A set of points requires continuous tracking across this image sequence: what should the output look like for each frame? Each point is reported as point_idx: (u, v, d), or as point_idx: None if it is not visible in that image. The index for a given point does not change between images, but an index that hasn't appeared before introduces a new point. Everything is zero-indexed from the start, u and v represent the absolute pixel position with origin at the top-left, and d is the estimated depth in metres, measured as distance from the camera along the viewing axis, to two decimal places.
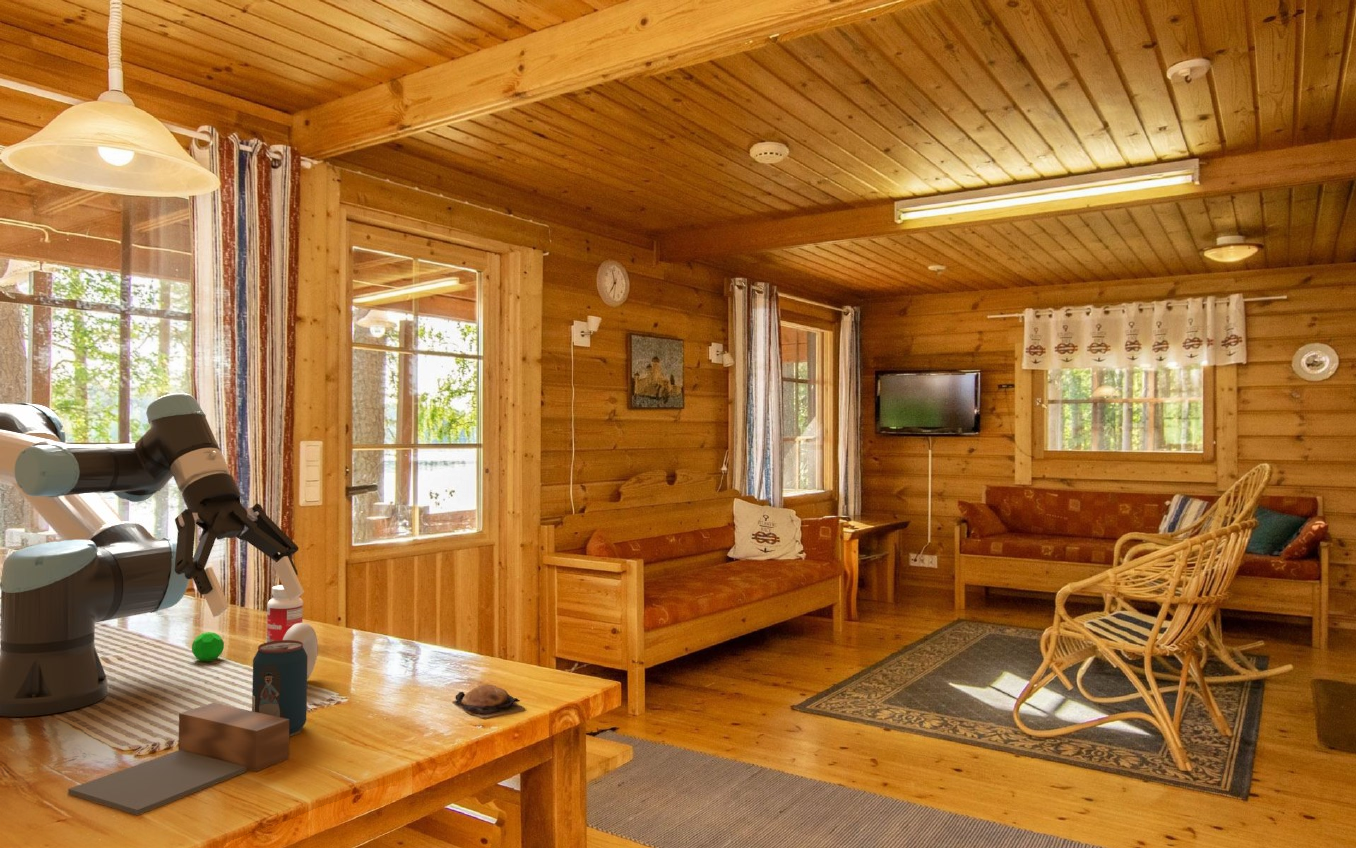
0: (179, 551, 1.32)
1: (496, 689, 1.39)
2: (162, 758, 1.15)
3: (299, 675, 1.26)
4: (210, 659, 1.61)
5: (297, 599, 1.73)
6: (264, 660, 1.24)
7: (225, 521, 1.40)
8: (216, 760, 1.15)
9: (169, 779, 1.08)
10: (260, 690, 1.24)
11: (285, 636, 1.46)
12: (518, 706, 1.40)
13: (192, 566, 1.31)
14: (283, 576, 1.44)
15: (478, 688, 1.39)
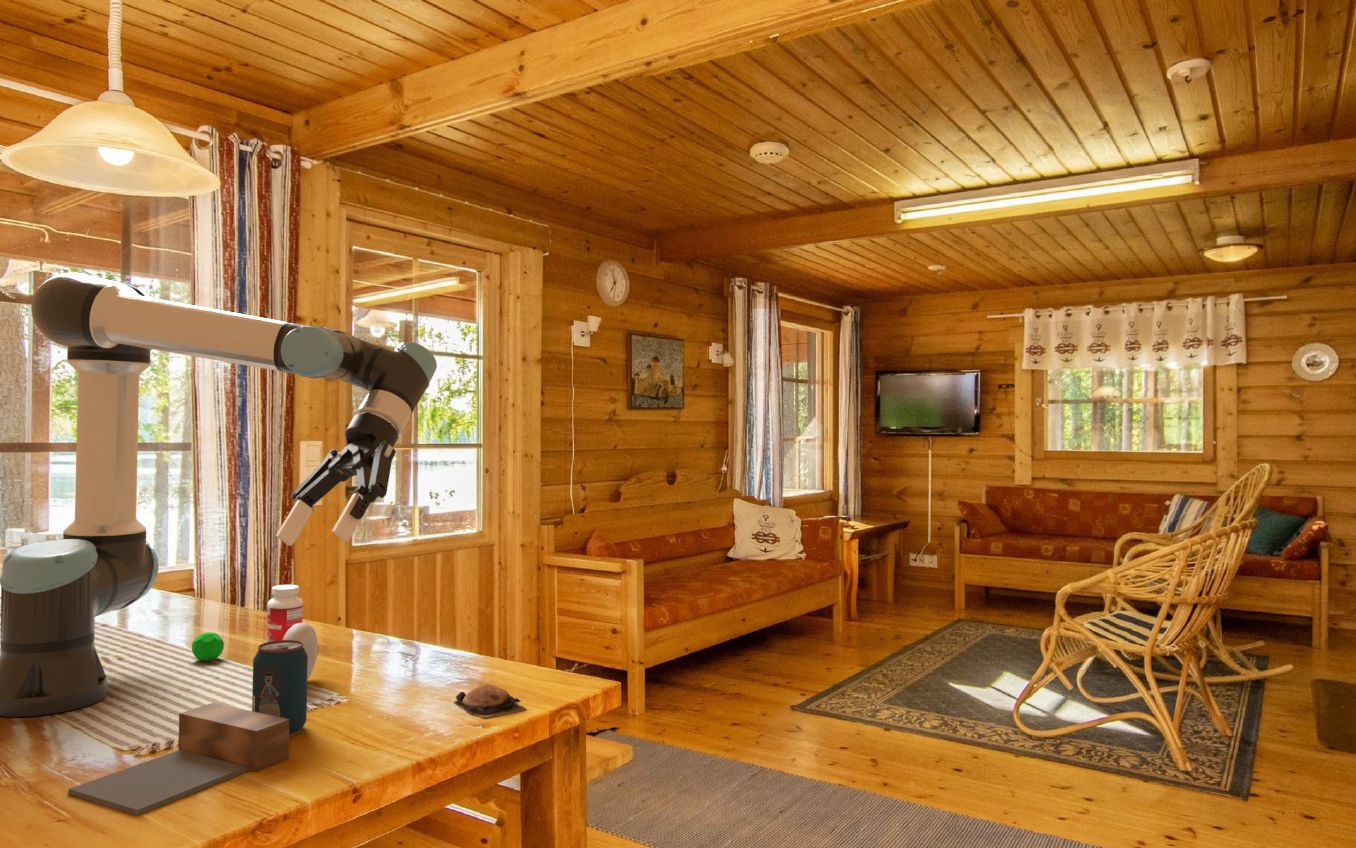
0: (380, 474, 1.35)
1: (497, 689, 1.39)
2: (162, 758, 1.15)
3: (300, 675, 1.26)
4: (210, 659, 1.61)
5: (297, 599, 1.73)
6: (264, 660, 1.24)
7: None
8: (216, 760, 1.15)
9: (169, 779, 1.08)
10: (260, 690, 1.24)
11: (285, 636, 1.46)
12: (519, 706, 1.40)
13: None
14: (296, 516, 1.40)
15: (479, 688, 1.39)
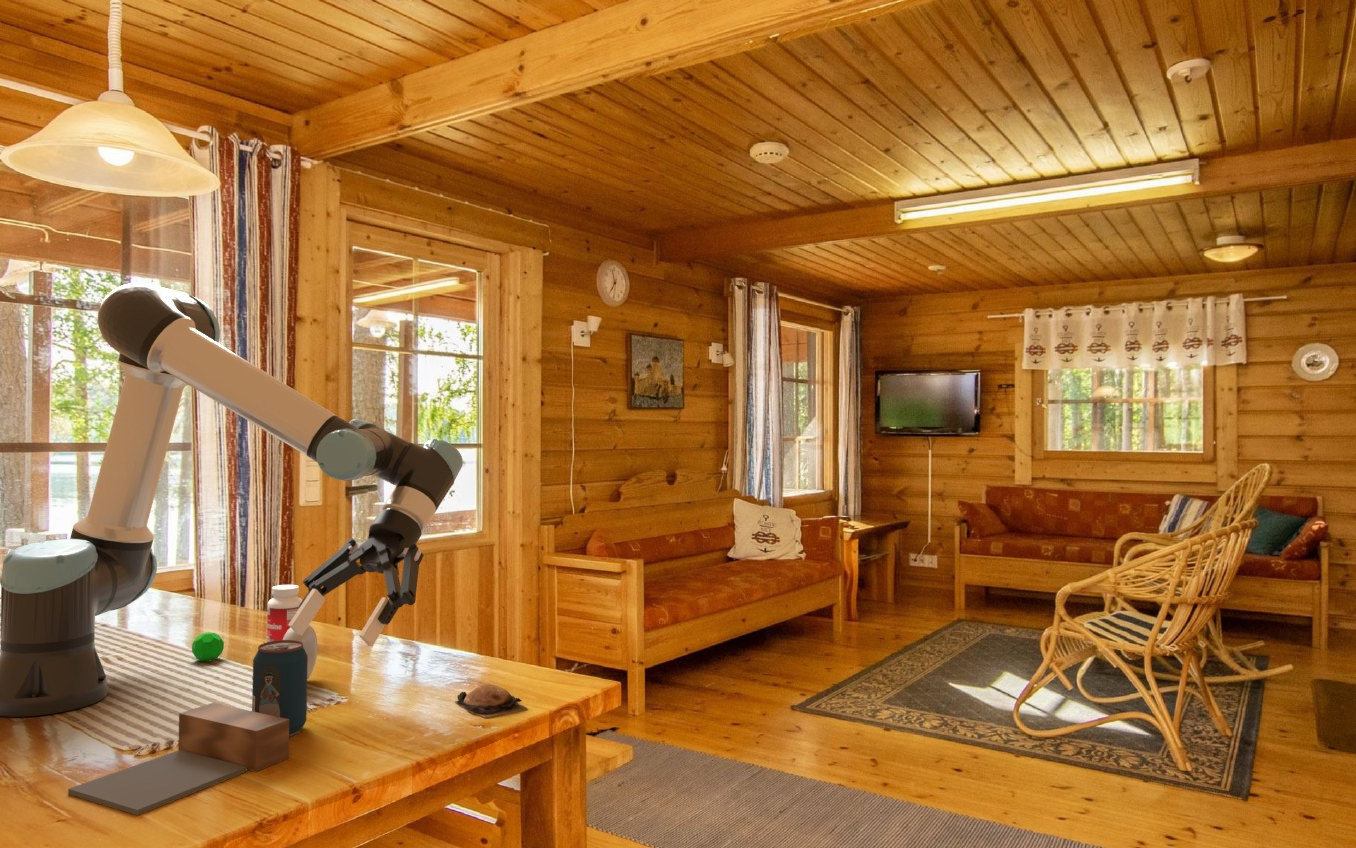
0: (411, 580, 1.36)
1: (498, 689, 1.40)
2: (162, 758, 1.15)
3: (299, 675, 1.26)
4: (210, 659, 1.61)
5: (297, 599, 1.73)
6: (264, 660, 1.24)
7: None
8: (216, 760, 1.15)
9: (169, 779, 1.08)
10: (260, 690, 1.24)
11: (285, 636, 1.46)
12: (520, 706, 1.40)
13: None
14: (310, 606, 1.39)
15: (480, 688, 1.40)
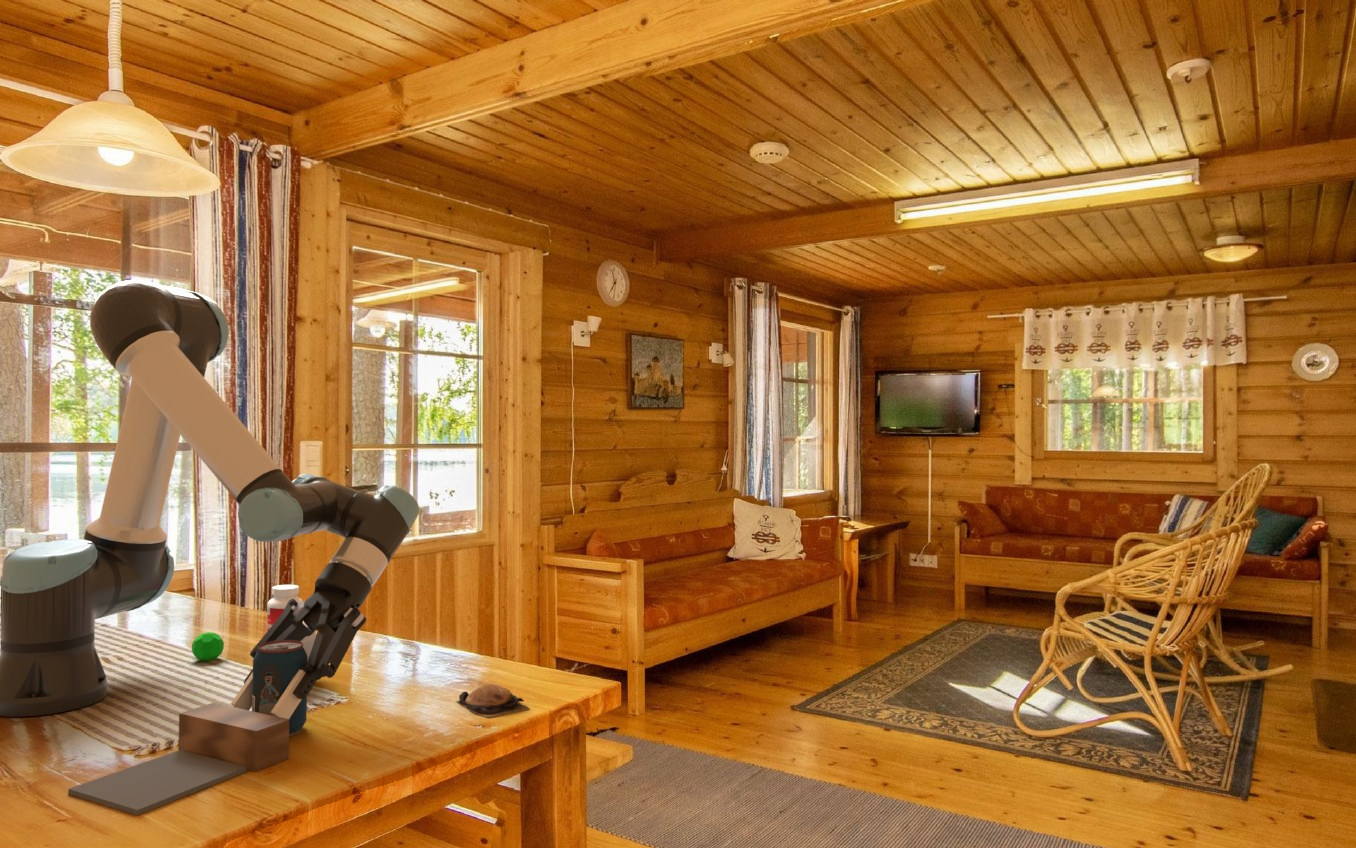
0: (337, 651, 1.27)
1: (500, 689, 1.40)
2: (162, 758, 1.15)
3: None
4: (210, 659, 1.61)
5: (297, 599, 1.73)
6: (264, 660, 1.24)
7: None
8: (216, 760, 1.15)
9: (169, 779, 1.08)
10: (260, 690, 1.24)
11: None
12: (522, 706, 1.40)
13: None
14: None
15: (482, 688, 1.40)
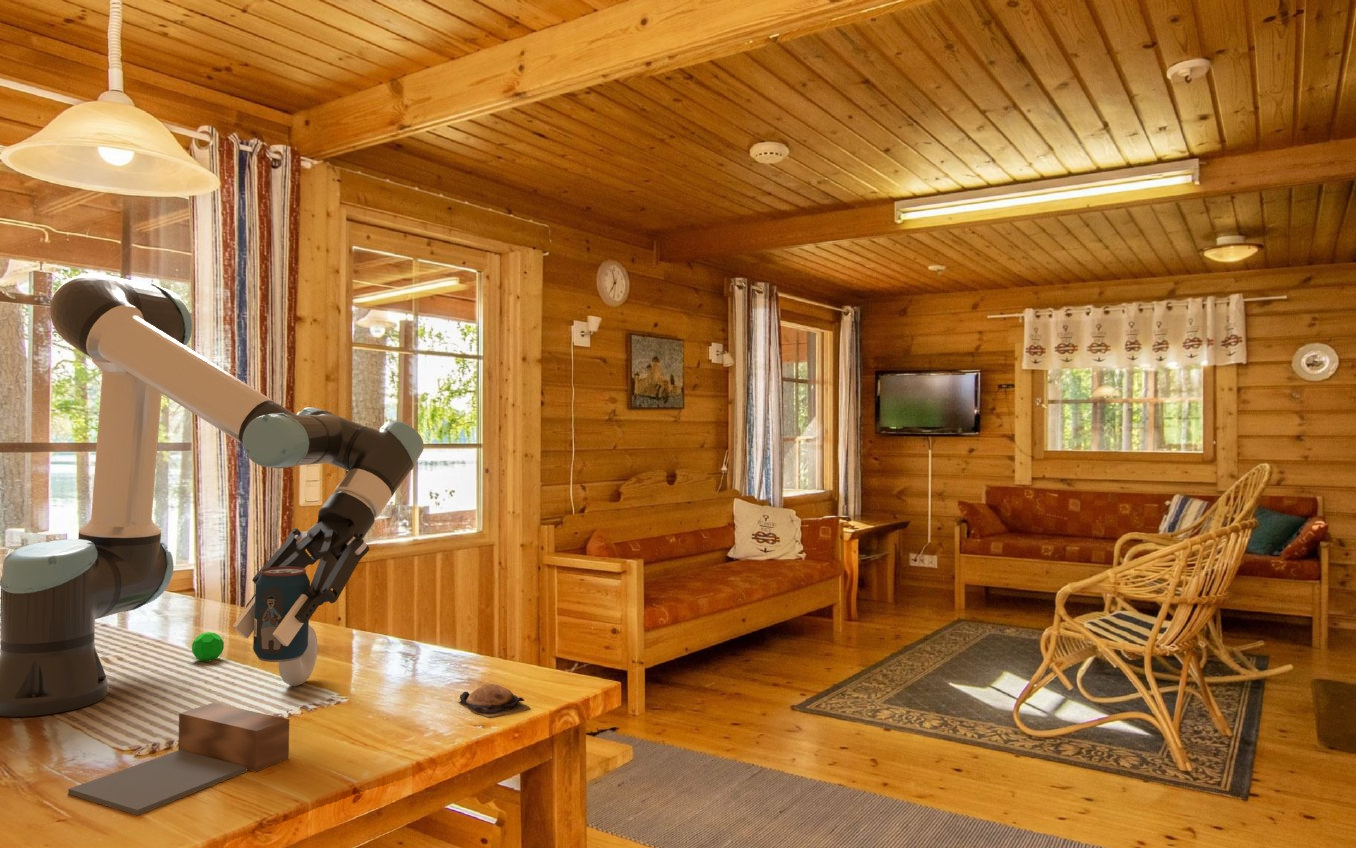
0: (340, 577, 1.27)
1: (501, 688, 1.40)
2: (162, 758, 1.15)
3: None
4: (210, 659, 1.61)
5: None
6: (266, 583, 1.24)
7: None
8: (216, 760, 1.15)
9: (169, 779, 1.08)
10: (262, 613, 1.24)
11: None
12: (523, 705, 1.40)
13: None
14: None
15: (483, 687, 1.40)
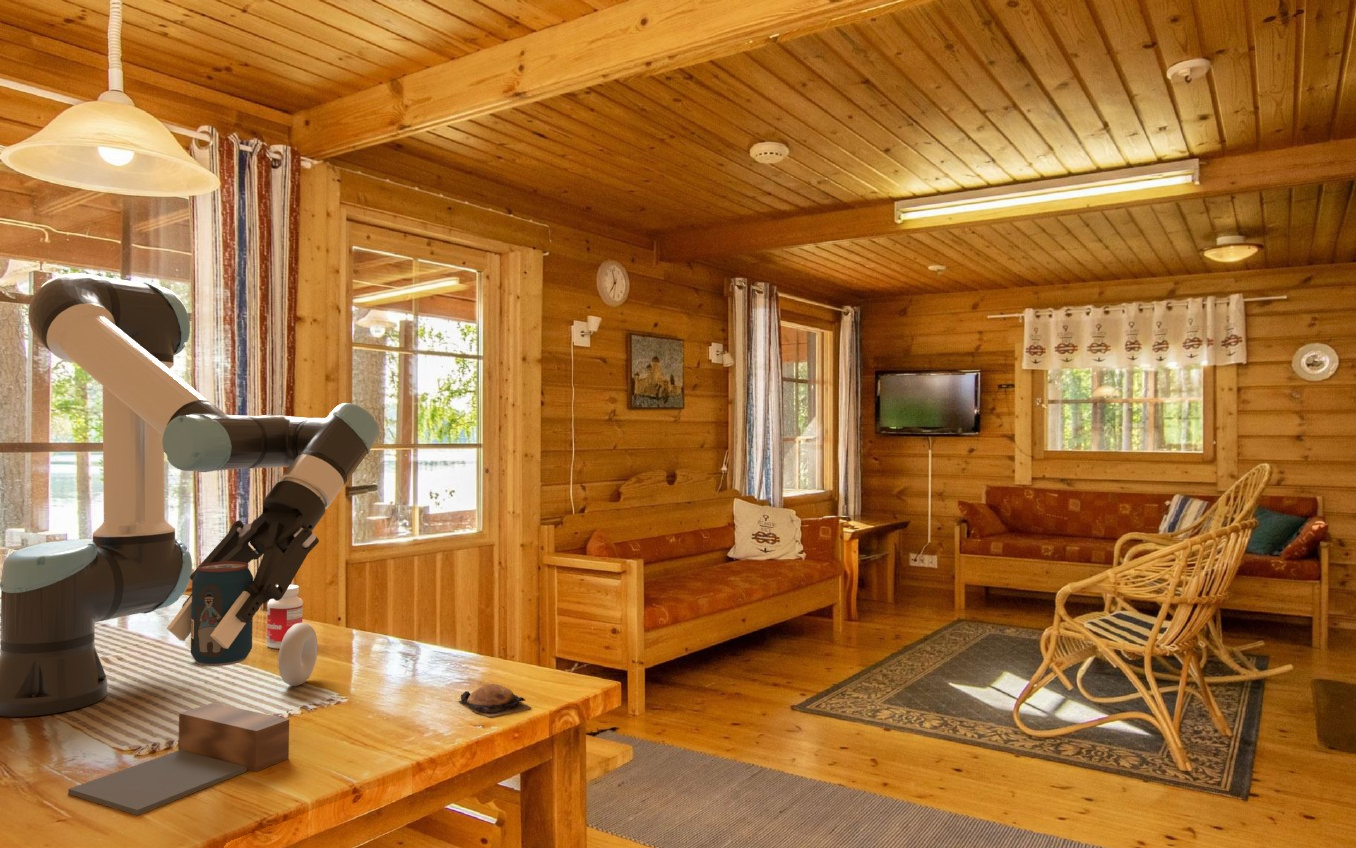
0: (285, 571, 1.16)
1: (502, 688, 1.40)
2: (162, 758, 1.15)
3: None
4: None
5: (297, 599, 1.73)
6: (203, 579, 1.13)
7: None
8: (216, 760, 1.15)
9: (169, 779, 1.08)
10: (199, 612, 1.13)
11: (285, 636, 1.46)
12: (524, 705, 1.40)
13: None
14: None
15: (484, 687, 1.40)
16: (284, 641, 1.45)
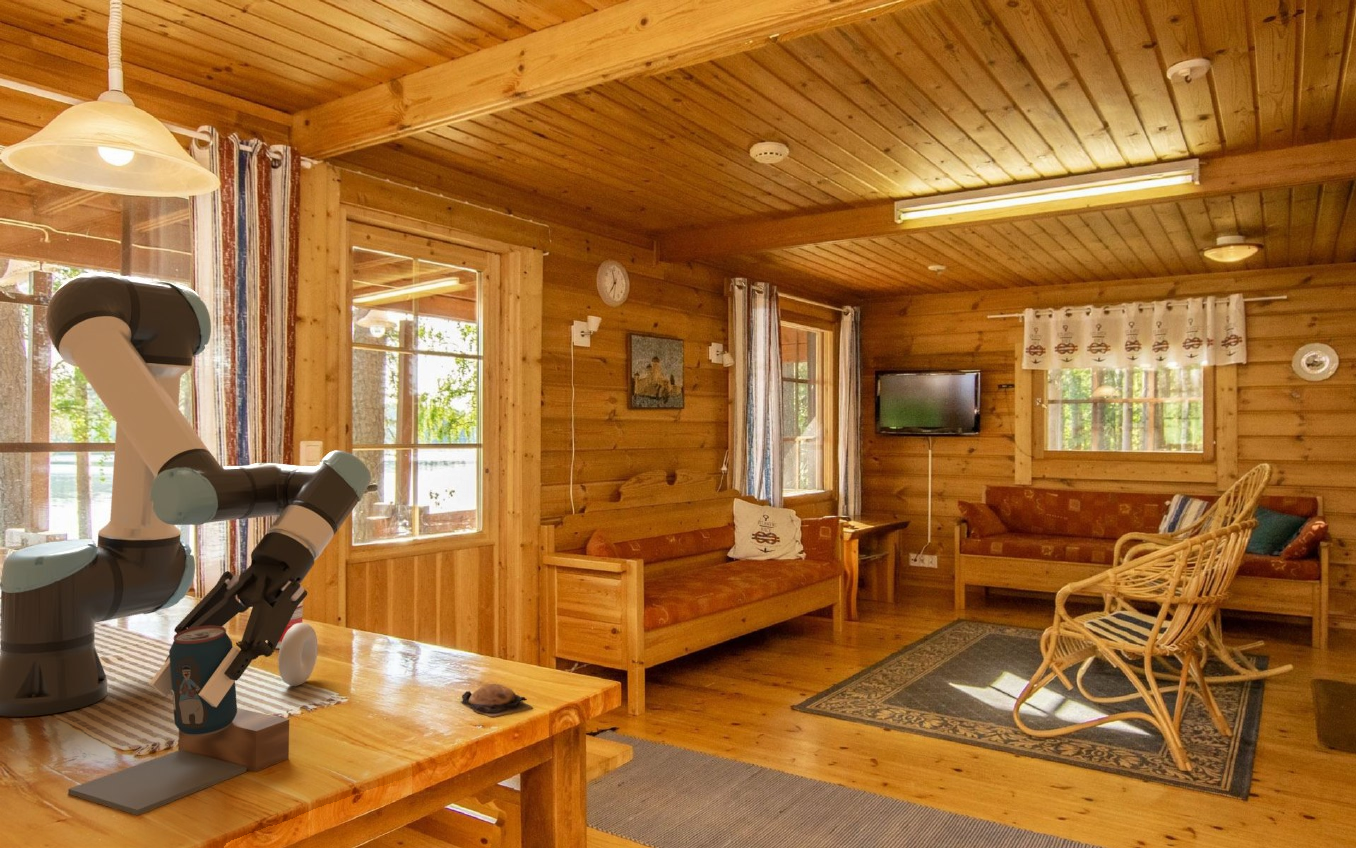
0: (275, 627, 1.15)
1: (503, 688, 1.40)
2: (162, 758, 1.15)
3: None
4: None
5: None
6: (179, 652, 1.10)
7: None
8: (216, 760, 1.15)
9: (169, 779, 1.08)
10: (178, 685, 1.10)
11: (285, 636, 1.46)
12: (525, 705, 1.40)
13: None
14: None
15: (485, 687, 1.40)
16: (284, 641, 1.45)
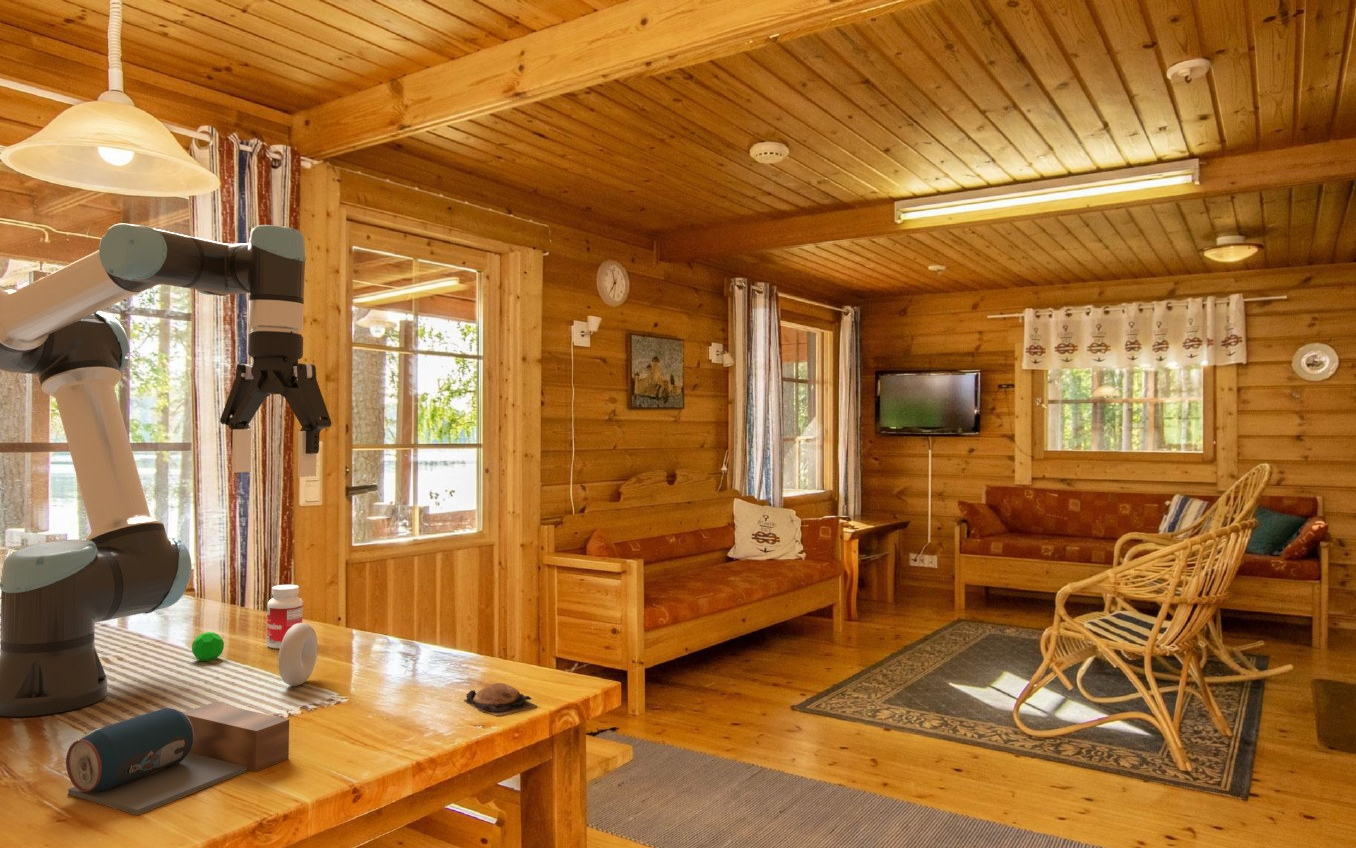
0: (316, 404, 1.33)
1: (508, 687, 1.41)
2: None
3: (127, 734, 1.06)
4: (210, 659, 1.61)
5: (297, 599, 1.73)
6: (109, 781, 1.03)
7: None
8: (216, 760, 1.15)
9: (169, 779, 1.08)
10: (142, 773, 1.07)
11: (285, 636, 1.46)
12: (530, 704, 1.41)
13: None
14: (241, 445, 1.40)
15: (490, 686, 1.40)
16: (284, 641, 1.45)
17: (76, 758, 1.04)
